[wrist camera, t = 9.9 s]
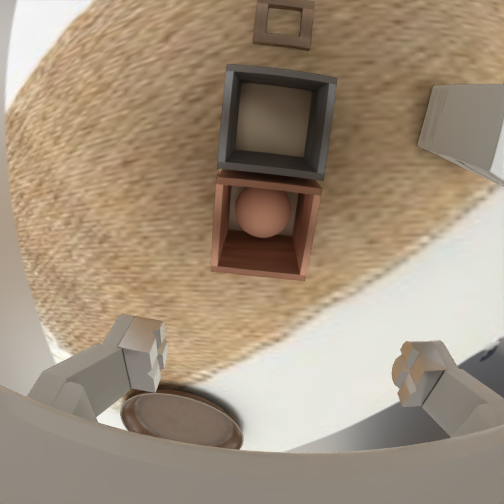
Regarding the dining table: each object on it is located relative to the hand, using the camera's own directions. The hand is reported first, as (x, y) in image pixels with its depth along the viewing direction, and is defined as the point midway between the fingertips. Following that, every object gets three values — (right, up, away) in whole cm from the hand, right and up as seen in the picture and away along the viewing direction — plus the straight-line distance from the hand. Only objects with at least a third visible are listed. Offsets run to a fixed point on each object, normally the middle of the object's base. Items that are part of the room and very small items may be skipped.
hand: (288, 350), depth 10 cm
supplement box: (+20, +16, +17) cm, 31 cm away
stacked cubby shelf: (0, +12, +20) cm, 23 cm away
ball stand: (+2, +25, +14) cm, 28 cm away
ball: (0, +7, +18) cm, 20 cm away
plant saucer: (-13, -25, +38) cm, 47 cm away
